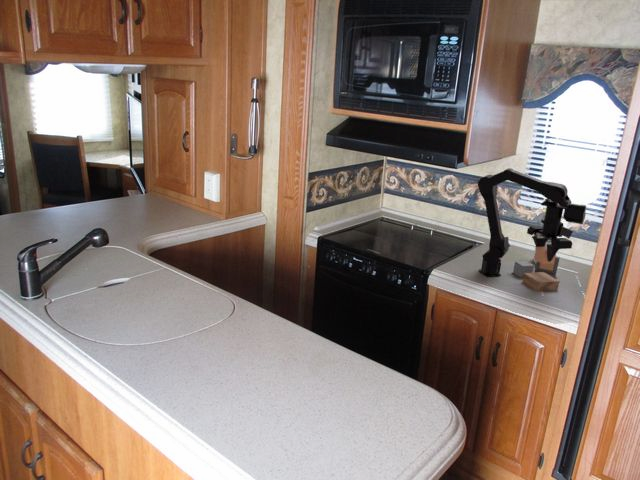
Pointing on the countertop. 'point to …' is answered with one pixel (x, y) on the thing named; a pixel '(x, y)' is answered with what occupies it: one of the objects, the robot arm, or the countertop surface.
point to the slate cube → (522, 268)
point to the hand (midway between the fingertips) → (544, 258)
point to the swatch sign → (548, 267)
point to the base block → (540, 281)
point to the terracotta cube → (543, 256)
